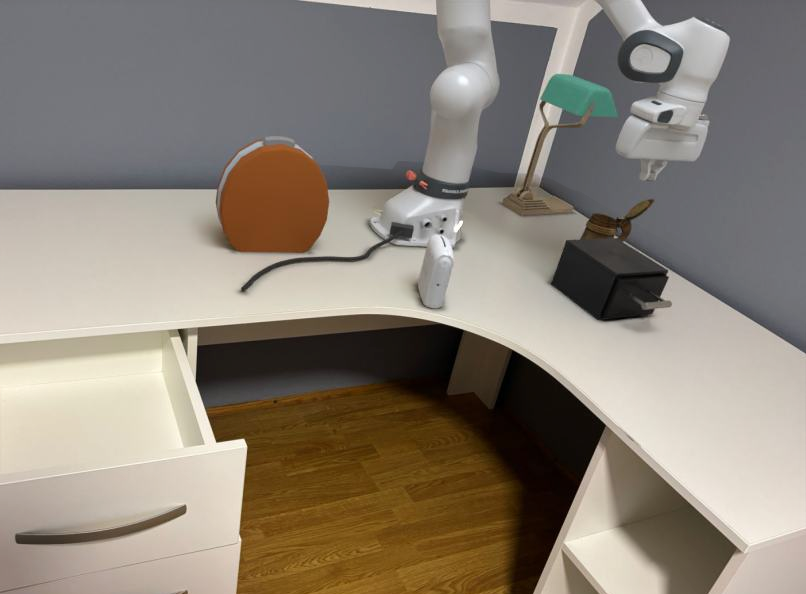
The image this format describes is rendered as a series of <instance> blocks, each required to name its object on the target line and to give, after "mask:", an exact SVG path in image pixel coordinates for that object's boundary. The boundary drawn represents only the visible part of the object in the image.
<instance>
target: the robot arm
mask: <svg viewBox="0 0 806 594" xmlns="http://www.w3.org/2000/svg"><path fill="white" fill-rule="evenodd" d="M594 1H595V2H596V4H598V5H599V6H600V7H601V8H602V10H603V11H604V13H605V14H606V16H607V17H608V19H609V20H610V22H611V23H612V24H613V27H614V28H615V29H616V31H617V32H618V33H619V35H620V37H621V38H622V41H623V42H622V44H621V45H620V48H619V49H618V53H617V67H618V69H619V71H620V73H621V74H622V75H623V77H624V78H626V79H627V80H630V81H631V82H634V83H637V84H638V83H639V84H644V83H645V84H647V83H650V84H659V87H658V90H657V92H656V94H654V95H651V96H648V97H646V98H643V99H640V100H636V101H634V102H633V103H632V104H631V106H630V110H629V112H630V113H631V114H632V115H630V116H628V117H627V119H626V120H625V122H624V124H623V126H622V128H621V130H620V133H619V135H618V138H617V141H616V143H615V151H616V154H618V155H619V156H621V157H623V158H625V159H633V160H640V170H641V171H640V173H639V176H638V179H639V180H641V181H644V182H655V181H656V180H657V178H658V175H659V174H660V173H661V172H662V171H663V170H664V168H665V167H666V166H667V164H668V162H669V161H671V162H689V163H690V162H691V163H694V162H695V161H697V159H699V158H700V155H701V153H702V150H703V148H704V145H705V143H706V140H707V136H708V132H709V129H708V128H709V126H710V122H711V121H710V119H709V116H708V115H707V114H706V113H702V111H703V109H704V107H705V105H706V103H707V101H708V94H709V90H710V89H711V87H712V85H713V84H714V82H715V80H717V77H718V75H719V73H720V71H721V68H722V66H723V63H724V61H725V59H726V56H727V53H728V50H729V46H730V42H731V36H730V34H729V32H728V30H727V29H726V27H724V26H723V25H721V24H719V23H717V22H715V21H714V20H711V19H709V18H705V17H703V16H698V15H697V16H692V17H690V18H688V19H685V20H683V21H680V22H679V21H678V22H676V23H673V24H664V23H662V22H660V21H658V19H656V18H655V17H653V15H652V14H651V13H650V11H649V9H648V8H647V6H646V5H645V4H644V2H643V0H594ZM435 10H436V23H437V24H436V25H437V29H436V30H437V36H438V39H439V40H440V42H441V46H442V50H443V54H444V58H445V63H446V68H445V69H444V70H443V71H441V72H440V73H439V75H438V76H437V77H436V78H435V80H434V82H433V83H432V84H431V85H432V86H431V88H430V91H429V101H430V105H431V107H430V125H429V126H430V127H429V136H428V141H427V142H428V143H427V147H426V151H425V156H424V160H423V164H422V165H423V166H422V168H421V169H420V170H419V172H418V174H417V173H416V172H414V171H413V170H408V171H407V172H406V173H405V177H406V179H408V180H409V181H410V182H412V184H411V186H409V187H407V188H406V189H404V190H402V191H401V192H399V193H398V194H396V195H394V196H393V197H391V198H389V199H388V200H387V201H386V202H385V203H384V205H383V208H382V210H381V213H380V216H372V217H370V220H369V226H370V228H371V230H373V231H374V233H376V234H377V236H379V237H380V238H382V241H380V242H378V243H376V244H374V245H373V246H371V247H370V248H369V249H368V250H367V251H366V252H365V253H364V254H362V255H358V256H334V255H333V256H332V255H329V256H328V255H327V256H325V255H323V256H303V257H293V258H288V259H284V260H280V261H277V262H275V263H272V264H270V265H268V266H266V267H264V268H262V269H261V270H259V271H258V272H256V273H254V275H252V276H251V278H249V280H247V281H246V283H244V285H242V287H241V288H240V290H241V292H245V291H246V290H247V289H249V287H250V286H251V285H252V284H253V283H254V282H255V281H256V280H258V279H259V277H261V276H262V275H264V274H266V273H268V272H269V271H271V270H273V269H275V268H278V267H280V266H281V267H282V266H284V265H289V264H293V263H300V262H319V261H338V262H339V261H340V262H355V261H361V260H364V259H366V258H368V257H369V256H370V255H371V254H372V253H373V251H375V250H376V249H378V248H380V247H382V246H384V245H386V244H389V243H390V244H393V245H395V246H406V247H407V246H408V247H423V248H424V247H426V248H427V243H428V241H429V239H430V237H432V236H433V235H435V234H438V235H443V236H445V237H446V238H447V239H448V241H449V242H450V244H451V247H452V249H454V248H456V243H458V242H460V240H461V238H462V228H461V227H462V225H463V222H464V221H463V220H462V217H463V210H464V203H465V200H466V198H467V196H468V193H469V189H470V185H471V180H470V177H471V174H472V170H473V166H474V164H475V163H474V162H475V160H476V159H475V158H476V154H477V150H478V134H479V125H480V118H481V115H482V112H483V111H484V110H485V109H487V108H489V106H491V105H492V103H493V102H494V101H495V100H496V97H497V95H498V93H499V89H500V86H501V84H500V83H501V81H500V76H499V72H498V67H497V58H496V53H495V47H494V46H495V45H494V40H493V34H492V25H491V24H492V22H491V0H435Z"/></svg>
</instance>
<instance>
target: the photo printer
mask: <svg viewBox="0 0 806 594" xmlns="http://www.w3.org/2000/svg"><path fill="white" fill-rule="evenodd" d="M454 263H455V255H454V250H453V248H452V247H451V244H450V242H449V241H448V239H447V238H446V237H445V236H443V235H438V234H435V235H433V236H432V237H430V239H429V241H428V243H427V247H426V248H425V252H424V257H423V260H422V264H421V268H420V272H419V277H418V280H417V288H418V292H419V295H420V299H421V302H422V304H423V306H425V307H427V308H430V309H439V308H442V306H443V304H444V301H445V297H446V294H447V291H448V288H449V283H450V279H451V276H452V272H453V268H454Z"/></svg>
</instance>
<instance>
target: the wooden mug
mask: <svg viewBox="0 0 806 594" xmlns="http://www.w3.org/2000/svg"><path fill="white" fill-rule="evenodd" d="M654 203H655V198H651V199H650V198H649V199H645V200H642V201H640V202H639V203H637V204H636V205H634V206H633V207H632V208H631V209H630V210H629V211H628V212H627V213H626V215H625V216H624V217H620V216H619V217H616V218H614V217H612V216H611V215H609V214H605V213H599V212H594V213H592V214H591V216H590V218H589V219H588V220H587V221H586V223H585V229H584V230H583V232H582V234H581V236H580V238H579V240H582V239H612V238H615V235H616V234H618V233H619V230H618V229H620V230H621V234H620V235H619V237H616V238H617V239H618V240H620V241H622V242H623V243H624V242H625V241H626V240H627V239H628V237H629V236H630V234H631V232H632V221H633V220H635V219H637V218H639V217H640V216H642V215H643V214H644V213H646V212H647V211H648V210H649V209H650V208H651V207H652V206H653V205H654Z"/></svg>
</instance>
